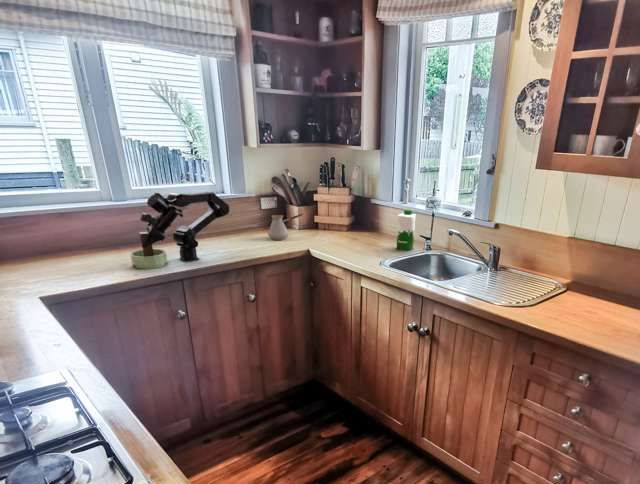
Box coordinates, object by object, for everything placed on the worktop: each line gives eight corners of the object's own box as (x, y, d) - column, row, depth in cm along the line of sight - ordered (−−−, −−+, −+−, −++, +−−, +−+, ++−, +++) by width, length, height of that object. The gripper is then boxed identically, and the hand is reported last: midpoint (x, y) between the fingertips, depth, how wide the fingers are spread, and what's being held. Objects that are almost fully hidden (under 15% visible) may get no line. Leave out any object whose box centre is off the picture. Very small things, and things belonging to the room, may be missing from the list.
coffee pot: (264, 240, 260) (263, 212, 254) (273, 236, 270) (271, 209, 264) (301, 243, 256) (300, 215, 250) (308, 238, 267) (307, 212, 260)
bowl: (157, 258, 219) (155, 247, 216) (174, 264, 211) (172, 252, 208) (126, 264, 208) (123, 252, 206) (142, 271, 200) (140, 258, 198)
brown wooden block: (154, 257, 211) (149, 231, 206) (154, 260, 208) (149, 233, 202) (144, 258, 209) (139, 232, 204) (145, 261, 206) (139, 233, 201)
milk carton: (414, 247, 255) (417, 210, 247) (409, 251, 247) (412, 212, 239) (399, 245, 258) (401, 208, 249) (394, 249, 250) (396, 211, 242)
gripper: (148, 202, 207) (125, 228, 208) (151, 209, 193) (127, 237, 193) (170, 219, 214) (148, 244, 214) (174, 227, 199) (151, 254, 199)
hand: (143, 245), depth 205 cm, fingers closed on brown wooden block, 4 cm apart
